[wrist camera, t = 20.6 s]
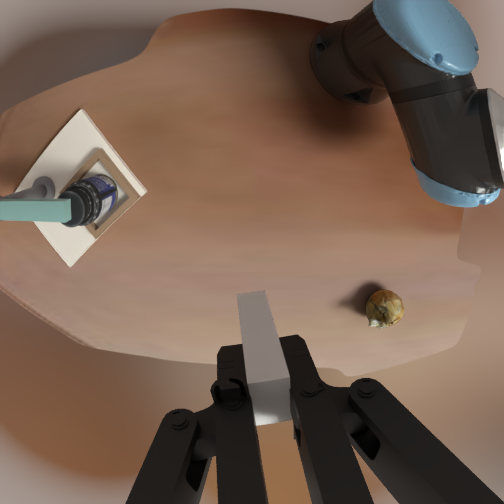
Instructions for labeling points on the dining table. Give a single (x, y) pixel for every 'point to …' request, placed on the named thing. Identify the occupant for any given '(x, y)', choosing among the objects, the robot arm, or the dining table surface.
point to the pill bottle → (90, 199)
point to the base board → (74, 169)
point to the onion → (384, 309)
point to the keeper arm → (35, 210)
